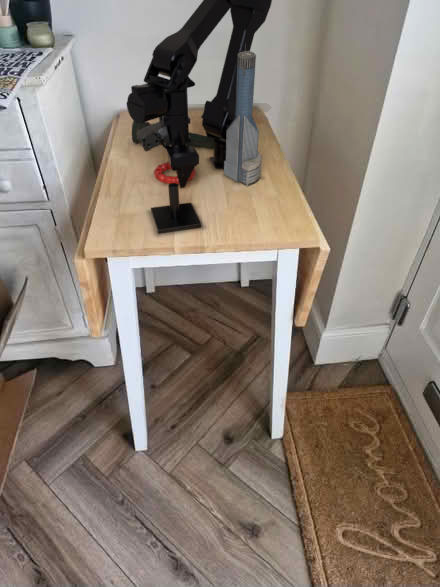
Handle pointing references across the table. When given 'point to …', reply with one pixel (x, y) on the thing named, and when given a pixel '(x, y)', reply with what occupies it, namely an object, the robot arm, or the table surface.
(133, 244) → the table surface
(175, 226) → the peg
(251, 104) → the building
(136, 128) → the tool
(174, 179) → the ring
